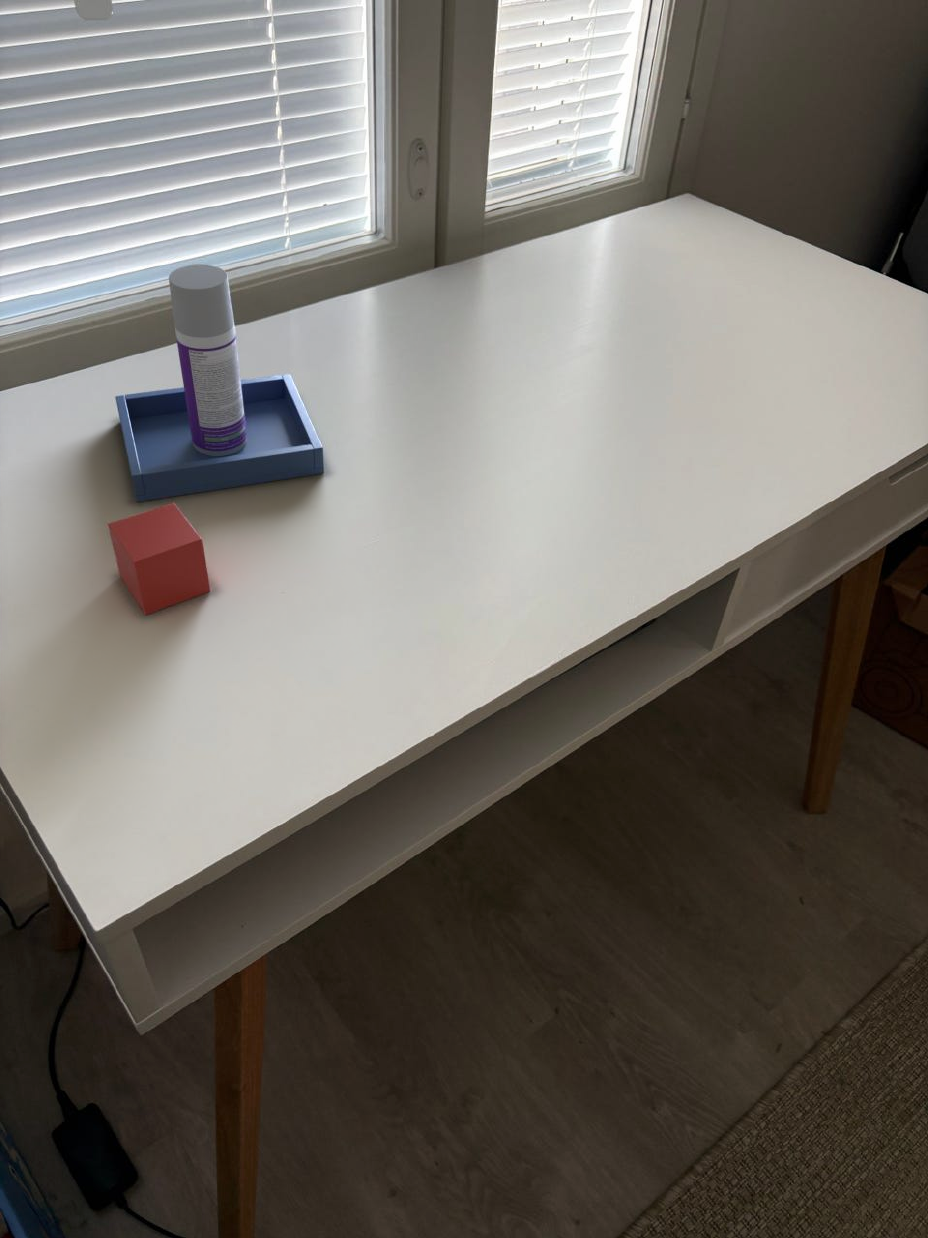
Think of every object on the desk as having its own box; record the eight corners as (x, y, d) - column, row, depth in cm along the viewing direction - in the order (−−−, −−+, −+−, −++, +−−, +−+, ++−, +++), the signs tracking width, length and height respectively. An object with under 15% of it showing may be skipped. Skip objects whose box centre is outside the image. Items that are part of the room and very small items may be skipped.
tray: (136, 502, 82) (131, 476, 80) (120, 421, 91) (114, 395, 89) (324, 473, 87) (323, 447, 85) (291, 398, 95) (289, 373, 93)
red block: (145, 615, 73) (134, 562, 69) (119, 576, 76) (107, 523, 72) (210, 591, 75) (202, 538, 71) (182, 554, 78) (173, 502, 74)
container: (192, 427, 89) (168, 263, 79) (246, 425, 90) (229, 262, 80) (192, 457, 86) (165, 290, 76) (247, 454, 87) (229, 289, 77)
